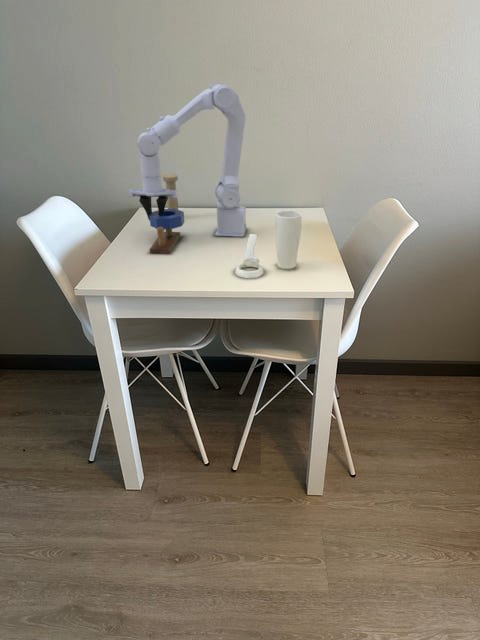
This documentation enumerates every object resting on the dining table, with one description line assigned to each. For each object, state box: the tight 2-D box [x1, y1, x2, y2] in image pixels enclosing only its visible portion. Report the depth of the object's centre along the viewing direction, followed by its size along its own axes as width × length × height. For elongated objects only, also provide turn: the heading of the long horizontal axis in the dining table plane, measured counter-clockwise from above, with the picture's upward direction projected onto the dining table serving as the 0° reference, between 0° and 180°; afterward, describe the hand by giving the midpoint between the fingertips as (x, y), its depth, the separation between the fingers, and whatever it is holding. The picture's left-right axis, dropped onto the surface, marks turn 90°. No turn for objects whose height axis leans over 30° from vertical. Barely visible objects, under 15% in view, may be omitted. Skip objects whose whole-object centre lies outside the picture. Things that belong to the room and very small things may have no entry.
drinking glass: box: [275, 209, 302, 270], centre depth 127 cm, size 7×7×15 cm
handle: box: [162, 172, 179, 210], centre depth 166 cm, size 5×6×15 cm
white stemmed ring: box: [234, 233, 264, 279], centre depth 127 cm, size 8×12×7 cm
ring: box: [149, 208, 185, 230], centre depth 147 cm, size 10×10×3 cm
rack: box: [149, 227, 182, 255], centre depth 144 cm, size 6×15×7 cm, turn 173°
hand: (156, 219), depth 147 cm, fingers closed on ring, 3 cm apart
